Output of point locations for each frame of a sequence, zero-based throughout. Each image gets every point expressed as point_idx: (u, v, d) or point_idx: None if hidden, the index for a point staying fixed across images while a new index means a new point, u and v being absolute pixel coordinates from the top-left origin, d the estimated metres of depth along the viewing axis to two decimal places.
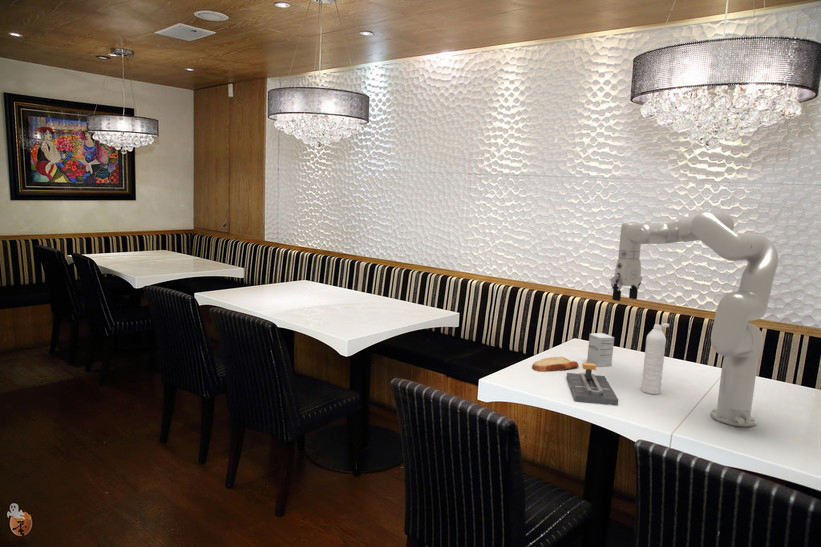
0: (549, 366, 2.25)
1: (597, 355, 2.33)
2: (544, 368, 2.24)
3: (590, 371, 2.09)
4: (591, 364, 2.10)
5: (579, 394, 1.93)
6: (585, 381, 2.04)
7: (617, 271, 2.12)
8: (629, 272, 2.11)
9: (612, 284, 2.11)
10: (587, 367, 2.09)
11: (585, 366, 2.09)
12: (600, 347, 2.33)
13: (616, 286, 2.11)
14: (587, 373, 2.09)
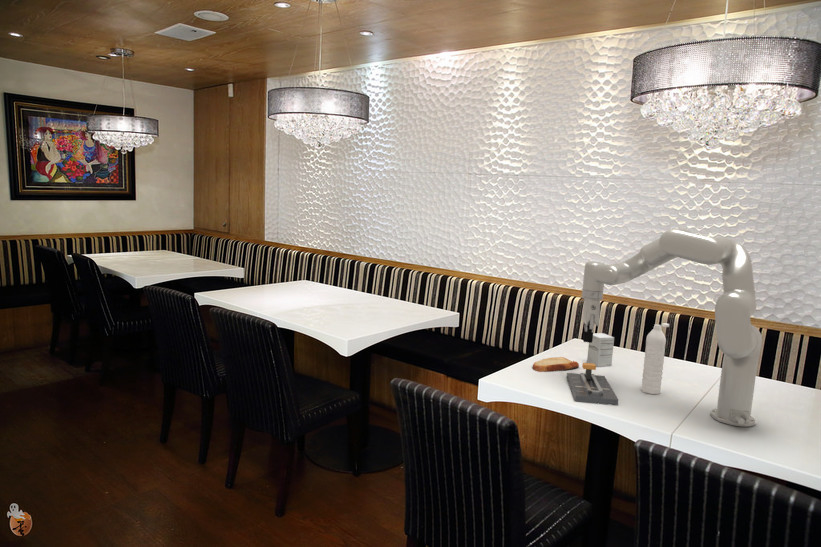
0: (549, 366, 2.25)
1: (597, 355, 2.33)
2: (545, 368, 2.24)
3: (590, 371, 2.09)
4: (591, 364, 2.10)
5: (579, 394, 1.93)
6: (585, 381, 2.04)
7: (591, 312, 2.08)
8: None
9: (590, 329, 2.11)
10: (587, 367, 2.09)
11: (585, 366, 2.09)
12: (600, 347, 2.33)
13: None
14: (587, 373, 2.09)
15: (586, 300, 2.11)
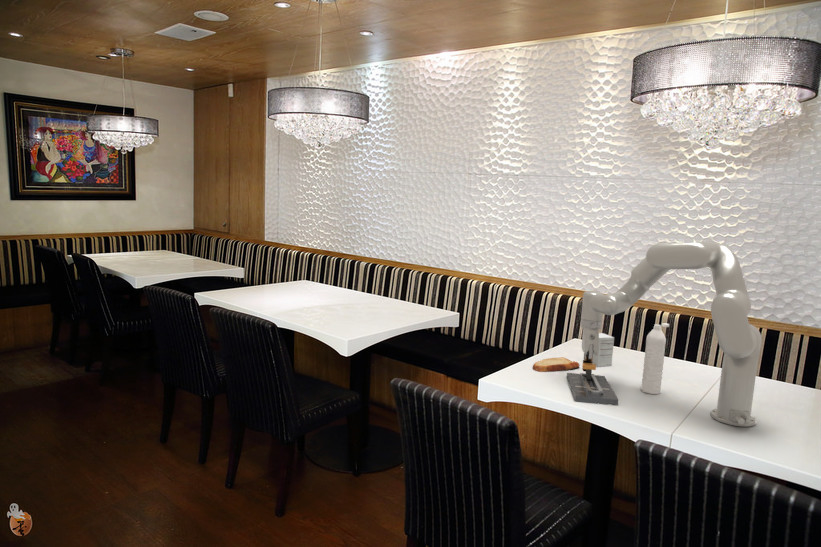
0: (549, 366, 2.25)
1: (597, 355, 2.33)
2: (545, 368, 2.24)
3: (590, 371, 2.09)
4: (591, 364, 2.10)
5: (579, 394, 1.93)
6: (585, 381, 2.04)
7: (590, 342, 2.08)
8: None
9: (589, 359, 2.10)
10: (587, 367, 2.09)
11: (585, 366, 2.09)
12: (600, 347, 2.33)
13: None
14: (587, 373, 2.09)
15: (585, 330, 2.10)
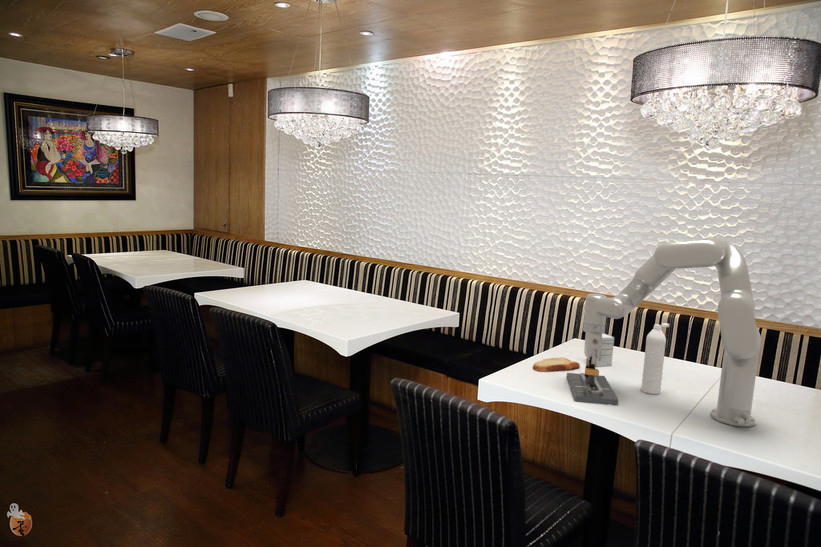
0: (550, 366, 2.24)
1: None
2: (545, 369, 2.24)
3: (593, 377, 2.02)
4: (594, 369, 2.03)
5: (579, 394, 1.93)
6: (585, 381, 2.04)
7: (593, 347, 2.01)
8: None
9: (592, 364, 2.04)
10: (590, 373, 2.02)
11: (588, 372, 2.02)
12: None
13: None
14: (590, 379, 2.03)
15: (587, 334, 2.03)
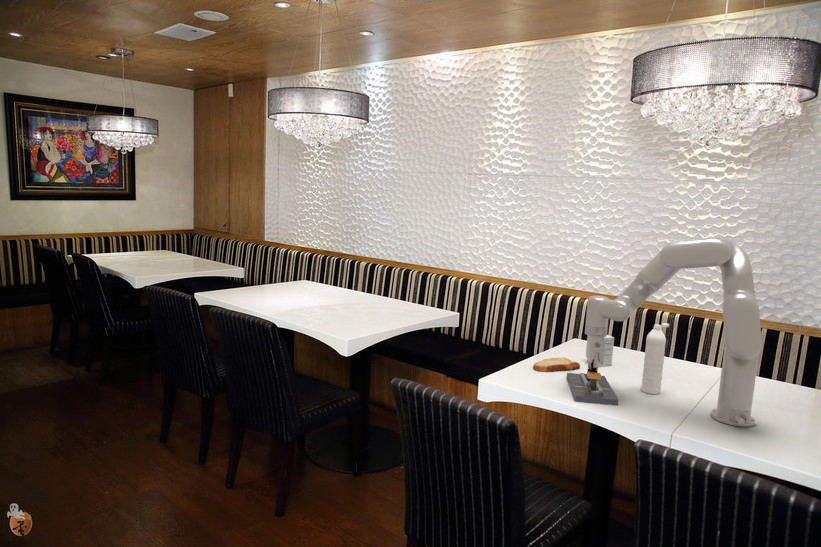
0: (550, 366, 2.24)
1: None
2: (545, 369, 2.24)
3: (595, 381, 1.98)
4: (596, 373, 1.98)
5: (579, 394, 1.93)
6: (585, 381, 2.04)
7: (595, 350, 1.97)
8: None
9: (594, 367, 1.99)
10: (592, 377, 1.98)
11: (590, 375, 1.98)
12: None
13: None
14: (592, 383, 1.98)
15: (589, 337, 1.99)
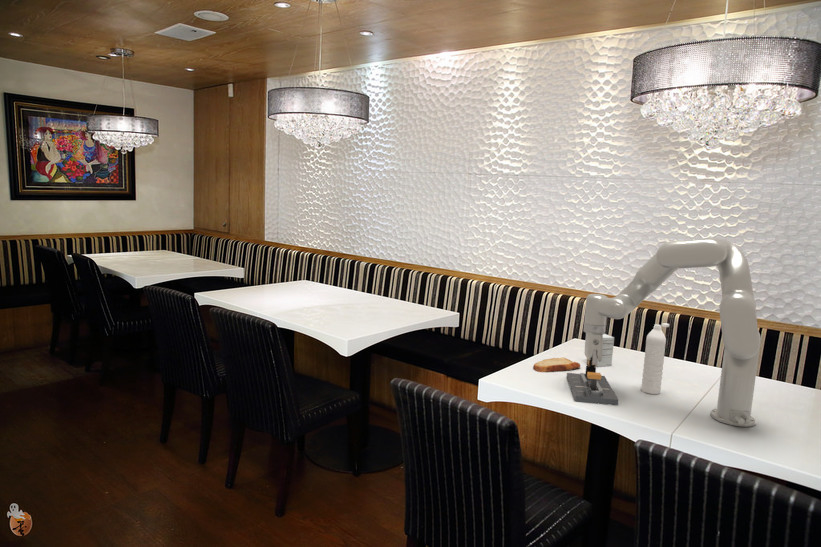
0: (550, 367, 2.24)
1: None
2: (545, 369, 2.24)
3: (595, 381, 1.98)
4: (596, 373, 1.98)
5: (579, 394, 1.93)
6: (585, 381, 2.04)
7: (594, 348, 2.00)
8: None
9: (592, 364, 2.02)
10: (592, 377, 1.98)
11: (590, 375, 1.98)
12: None
13: None
14: (592, 383, 1.98)
15: (588, 334, 2.02)
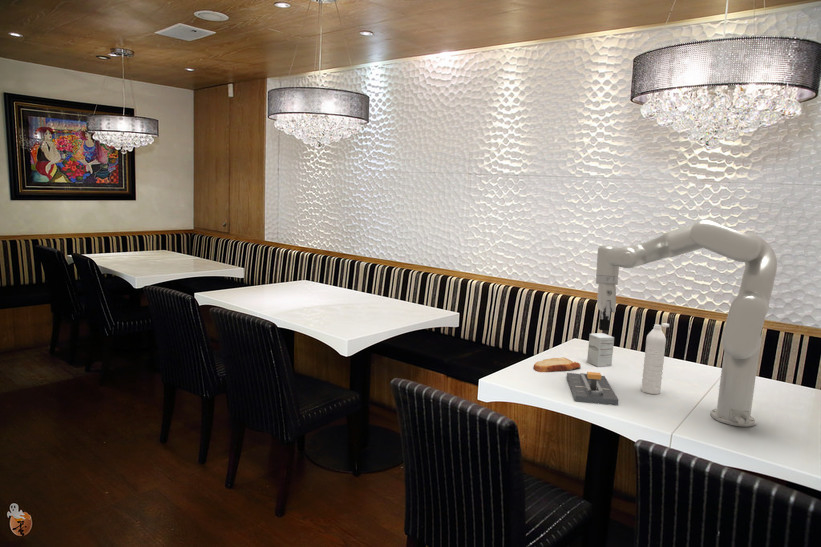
0: (550, 367, 2.24)
1: (597, 355, 2.33)
2: (545, 369, 2.24)
3: (595, 381, 1.98)
4: (596, 373, 1.98)
5: (579, 394, 1.93)
6: (585, 381, 2.04)
7: (607, 298, 1.98)
8: None
9: (606, 316, 2.01)
10: (592, 377, 1.98)
11: (590, 375, 1.98)
12: (600, 347, 2.33)
13: None
14: (592, 383, 1.98)
15: (601, 286, 2.01)
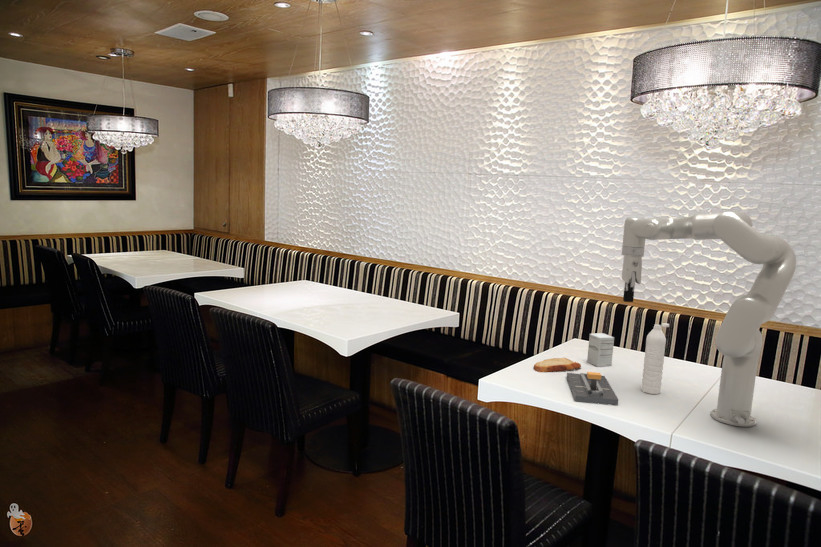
0: (550, 367, 2.24)
1: (597, 355, 2.33)
2: (545, 369, 2.24)
3: (595, 381, 1.98)
4: (596, 373, 1.98)
5: (579, 394, 1.93)
6: (585, 381, 2.04)
7: (633, 269, 2.00)
8: None
9: (631, 287, 2.03)
10: (592, 377, 1.98)
11: (590, 375, 1.98)
12: (600, 347, 2.33)
13: None
14: (592, 383, 1.98)
15: (627, 257, 2.02)
